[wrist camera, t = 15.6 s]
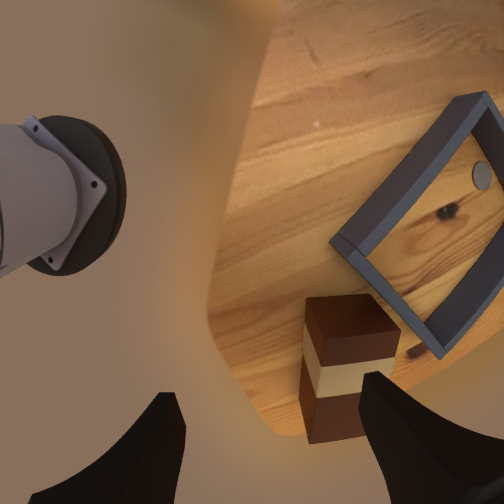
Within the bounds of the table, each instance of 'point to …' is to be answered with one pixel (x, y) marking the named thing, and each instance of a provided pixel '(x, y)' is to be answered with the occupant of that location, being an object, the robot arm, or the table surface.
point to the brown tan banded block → (342, 362)
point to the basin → (407, 193)
